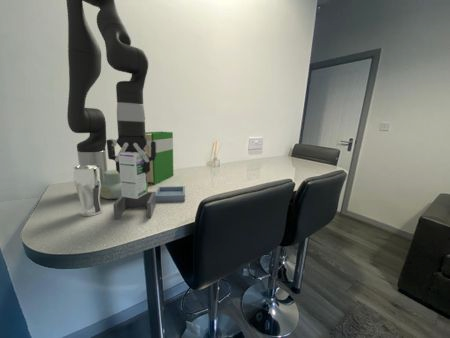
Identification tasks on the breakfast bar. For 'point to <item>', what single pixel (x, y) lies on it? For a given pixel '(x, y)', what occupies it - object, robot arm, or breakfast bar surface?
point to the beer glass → (88, 189)
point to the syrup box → (132, 175)
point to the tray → (170, 194)
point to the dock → (135, 204)
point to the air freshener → (111, 185)
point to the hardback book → (160, 156)
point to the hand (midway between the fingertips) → (133, 172)
